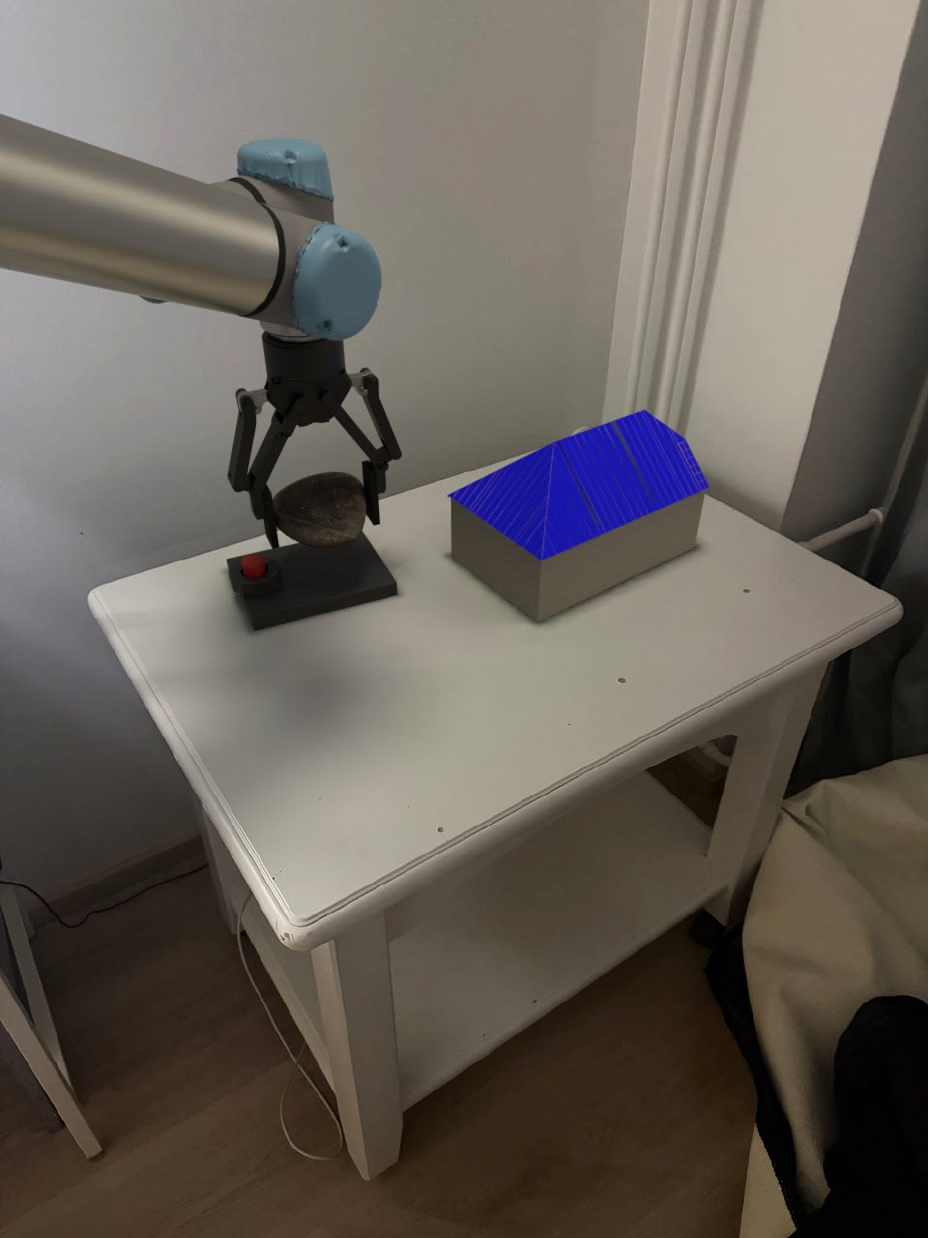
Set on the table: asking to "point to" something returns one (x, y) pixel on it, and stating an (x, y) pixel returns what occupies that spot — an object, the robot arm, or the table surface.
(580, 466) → the house
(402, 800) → the table surface
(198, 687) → the table surface
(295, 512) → the stone
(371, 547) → the scale
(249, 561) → the tare button
